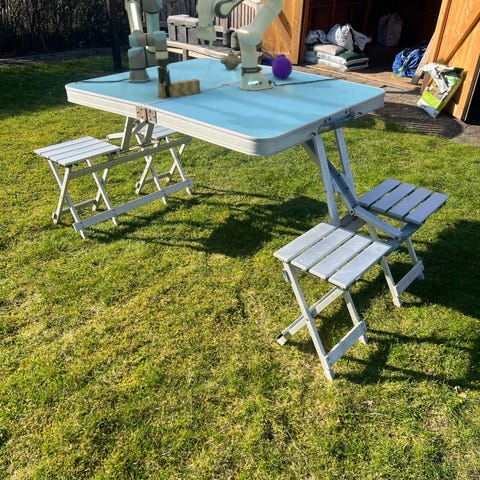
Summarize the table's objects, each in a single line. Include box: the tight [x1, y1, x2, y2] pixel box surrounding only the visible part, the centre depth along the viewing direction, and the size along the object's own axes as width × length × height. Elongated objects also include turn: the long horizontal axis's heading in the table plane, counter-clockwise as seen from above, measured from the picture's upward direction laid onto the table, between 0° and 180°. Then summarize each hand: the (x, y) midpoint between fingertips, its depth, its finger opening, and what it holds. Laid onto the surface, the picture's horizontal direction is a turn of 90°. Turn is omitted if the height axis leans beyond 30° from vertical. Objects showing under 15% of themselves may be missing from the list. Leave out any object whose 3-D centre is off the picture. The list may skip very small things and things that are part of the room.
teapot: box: [220, 49, 241, 71], centre depth 371 cm, size 21×12×15 cm, turn 120°
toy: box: [260, 53, 293, 80], centre depth 336 cm, size 16×18×27 cm
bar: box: [156, 78, 201, 100], centre depth 295 cm, size 28×6×8 cm, turn 122°
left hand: (166, 96), depth 292 cm, fingers closed on bar, 6 cm apart
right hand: (207, 47), depth 290 cm, fingers open, 8 cm apart
